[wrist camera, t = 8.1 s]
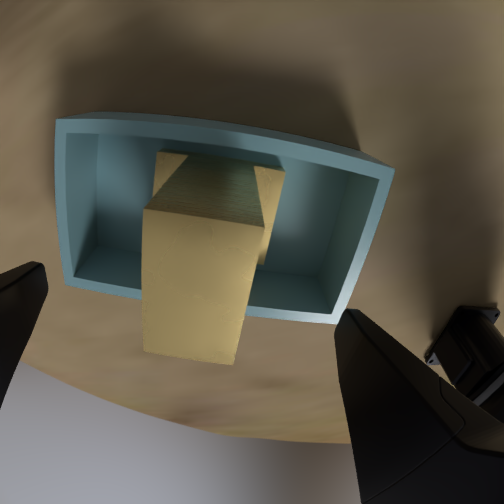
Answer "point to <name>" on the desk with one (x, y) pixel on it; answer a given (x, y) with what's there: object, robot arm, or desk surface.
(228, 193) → the brass bracket
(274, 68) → the desk surface
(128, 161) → the blue rectangular open bin
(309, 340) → the desk surface
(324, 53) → the desk surface
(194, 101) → the desk surface
